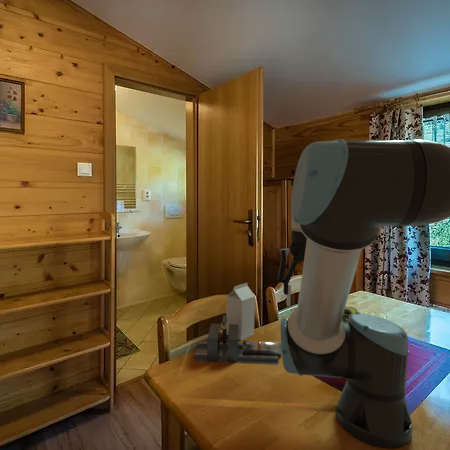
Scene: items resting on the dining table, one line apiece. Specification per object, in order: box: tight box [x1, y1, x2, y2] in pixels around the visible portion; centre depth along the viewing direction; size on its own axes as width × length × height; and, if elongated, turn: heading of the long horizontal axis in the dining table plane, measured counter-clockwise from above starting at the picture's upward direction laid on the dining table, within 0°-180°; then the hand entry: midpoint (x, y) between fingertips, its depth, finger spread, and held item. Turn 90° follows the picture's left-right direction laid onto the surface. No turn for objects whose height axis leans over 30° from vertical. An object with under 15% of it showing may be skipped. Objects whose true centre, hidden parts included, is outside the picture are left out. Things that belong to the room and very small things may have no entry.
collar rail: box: [193, 314, 280, 366], centre depth 98 cm, size 12×25×11 cm, turn 87°
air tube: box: [242, 340, 282, 356], centre depth 98 cm, size 12×4×4 cm, turn 87°
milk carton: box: [225, 282, 256, 341], centre depth 111 cm, size 7×7×19 cm
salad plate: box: [341, 306, 361, 322], centre depth 125 cm, size 19×18×5 cm
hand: (301, 305), depth 96 cm, fingers open, 7 cm apart
